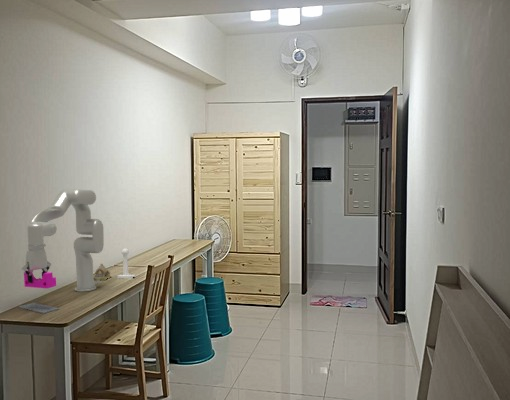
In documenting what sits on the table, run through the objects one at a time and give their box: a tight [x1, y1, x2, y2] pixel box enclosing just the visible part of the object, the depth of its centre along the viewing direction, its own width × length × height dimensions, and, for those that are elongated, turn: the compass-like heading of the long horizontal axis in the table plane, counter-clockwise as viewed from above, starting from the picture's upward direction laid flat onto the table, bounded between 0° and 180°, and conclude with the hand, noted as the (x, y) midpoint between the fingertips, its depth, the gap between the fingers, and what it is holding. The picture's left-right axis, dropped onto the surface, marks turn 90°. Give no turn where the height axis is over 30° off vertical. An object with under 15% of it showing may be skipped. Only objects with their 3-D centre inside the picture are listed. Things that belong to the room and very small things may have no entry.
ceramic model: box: [93, 263, 112, 282], centre depth 359 cm, size 14×11×10 cm
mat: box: [18, 302, 60, 314], centre depth 287 cm, size 9×22×1 cm, turn 55°
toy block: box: [23, 271, 57, 290], centre depth 285 cm, size 15×6×8 cm, turn 70°
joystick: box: [116, 247, 136, 278], centre depth 358 cm, size 11×8×20 cm
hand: (37, 281), depth 286 cm, fingers closed on toy block, 7 cm apart
